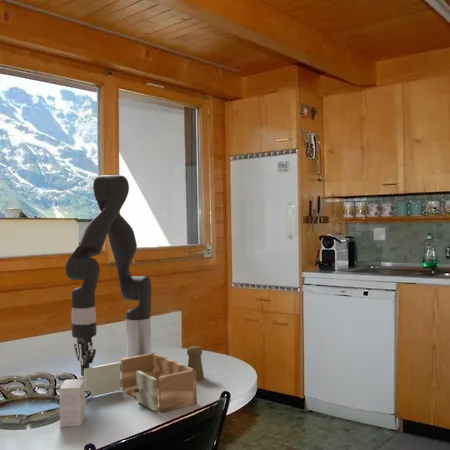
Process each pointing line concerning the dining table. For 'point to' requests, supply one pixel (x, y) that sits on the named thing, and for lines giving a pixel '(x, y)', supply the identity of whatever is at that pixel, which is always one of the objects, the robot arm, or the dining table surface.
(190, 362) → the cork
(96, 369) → the door
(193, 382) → the cabinet
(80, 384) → the small box
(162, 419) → the dining table surface
